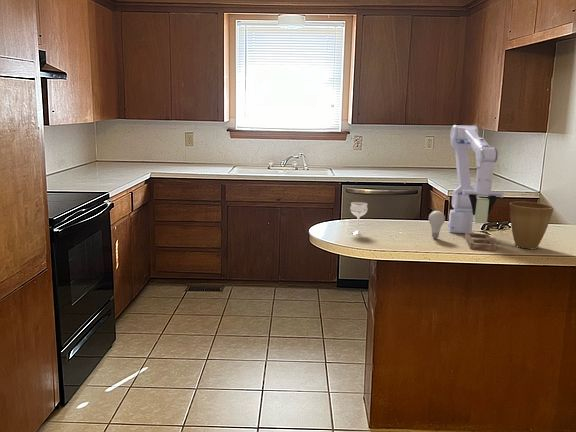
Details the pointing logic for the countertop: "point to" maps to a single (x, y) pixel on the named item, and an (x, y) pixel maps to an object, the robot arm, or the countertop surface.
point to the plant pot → (529, 222)
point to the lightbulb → (436, 222)
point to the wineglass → (358, 212)
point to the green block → (481, 210)
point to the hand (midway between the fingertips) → (480, 214)
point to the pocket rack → (480, 241)
